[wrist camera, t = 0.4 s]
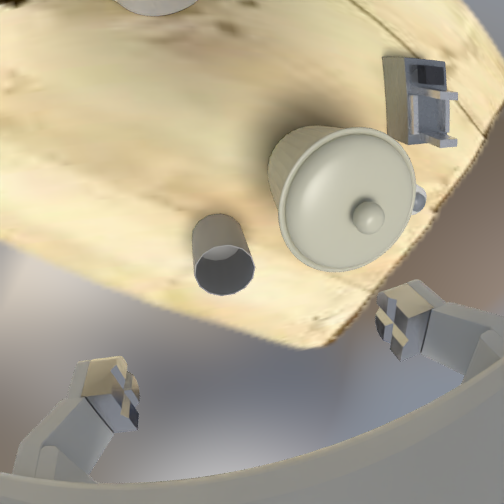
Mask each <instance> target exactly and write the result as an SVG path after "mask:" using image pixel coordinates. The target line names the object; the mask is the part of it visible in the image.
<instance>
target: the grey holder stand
mask: <svg viewBox="0 0 504 504" xmlns="http://www.w3.org/2000/svg"><path fill="white" fill-rule="evenodd" d="M382 60H383V70H384V81H385V94H386V112H387V135H389V136H390V137H392V138H393V139H395V140H398V141H400V142H402V143H405V144H407V145H412V144H422V143H429V144H432V145H434V146H436V147H439V148H444V147H455V146H457V139H456V138H453V137H451V136H448V135H447V132H449V118H450V109H449V100H458V93H457V92H453V91H448V90H447V86H446V68H445V62H442V61H435V60H426V59H416V58H402V57H382Z"/></svg>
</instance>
